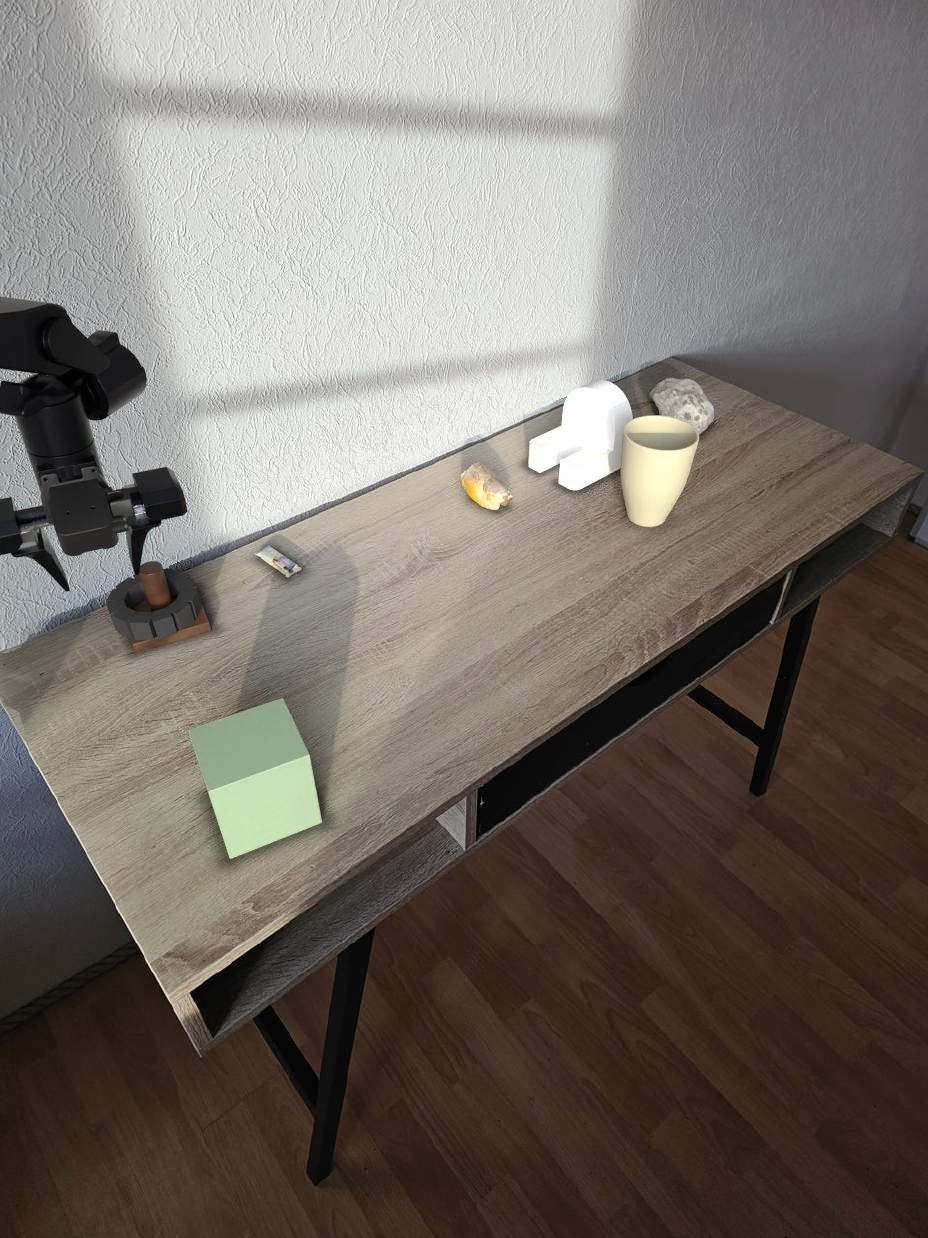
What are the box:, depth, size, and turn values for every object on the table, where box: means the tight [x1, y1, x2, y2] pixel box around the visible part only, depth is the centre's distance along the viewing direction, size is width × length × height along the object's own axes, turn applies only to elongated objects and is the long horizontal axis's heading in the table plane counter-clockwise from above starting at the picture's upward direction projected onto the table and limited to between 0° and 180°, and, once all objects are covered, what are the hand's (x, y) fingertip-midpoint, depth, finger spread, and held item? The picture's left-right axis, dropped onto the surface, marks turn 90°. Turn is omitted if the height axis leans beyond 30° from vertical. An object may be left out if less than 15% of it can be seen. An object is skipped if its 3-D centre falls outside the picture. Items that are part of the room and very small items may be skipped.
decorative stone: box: [648, 377, 715, 435], centre depth 125 cm, size 12×11×5 cm
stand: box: [130, 560, 212, 654], centre depth 88 cm, size 8×8×7 cm
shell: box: [460, 462, 514, 511], centre depth 107 cm, size 8×4×5 cm, turn 49°
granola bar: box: [254, 545, 303, 579], centre depth 97 cm, size 7×2×1 cm, turn 46°
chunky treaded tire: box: [105, 568, 203, 640], centre depth 89 cm, size 9×9×2 cm
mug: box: [620, 414, 700, 528], centre depth 103 cm, size 11×10×12 cm
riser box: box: [187, 697, 323, 860], centre depth 68 cm, size 8×7×9 cm
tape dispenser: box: [527, 379, 634, 491], centre depth 114 cm, size 10×18×11 cm, turn 131°
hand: (102, 580), depth 84 cm, fingers open, 6 cm apart
